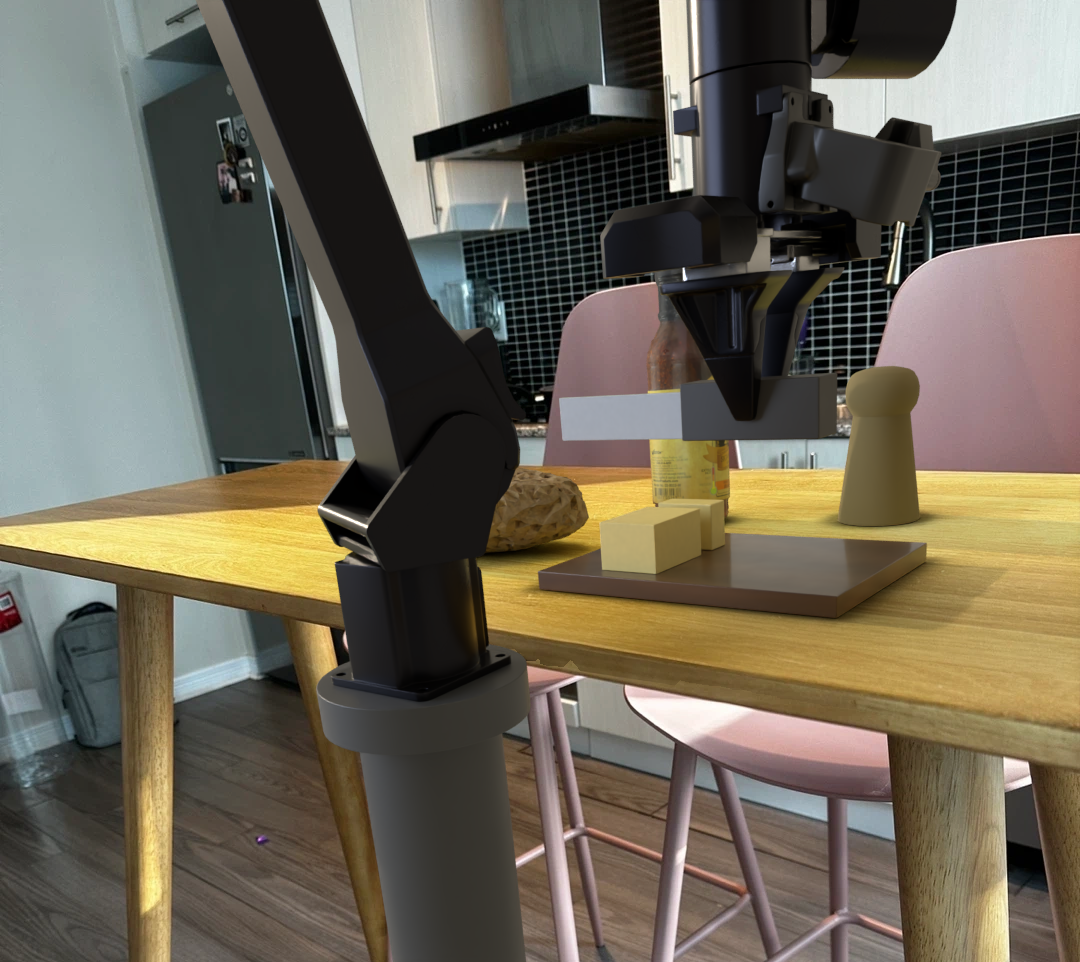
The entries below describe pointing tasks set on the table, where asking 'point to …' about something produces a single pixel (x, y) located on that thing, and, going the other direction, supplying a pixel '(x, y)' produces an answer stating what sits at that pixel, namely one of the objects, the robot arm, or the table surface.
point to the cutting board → (755, 574)
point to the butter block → (650, 539)
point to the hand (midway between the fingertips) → (756, 417)
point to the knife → (707, 413)
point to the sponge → (536, 511)
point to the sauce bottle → (669, 365)
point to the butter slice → (705, 519)
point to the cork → (880, 449)
